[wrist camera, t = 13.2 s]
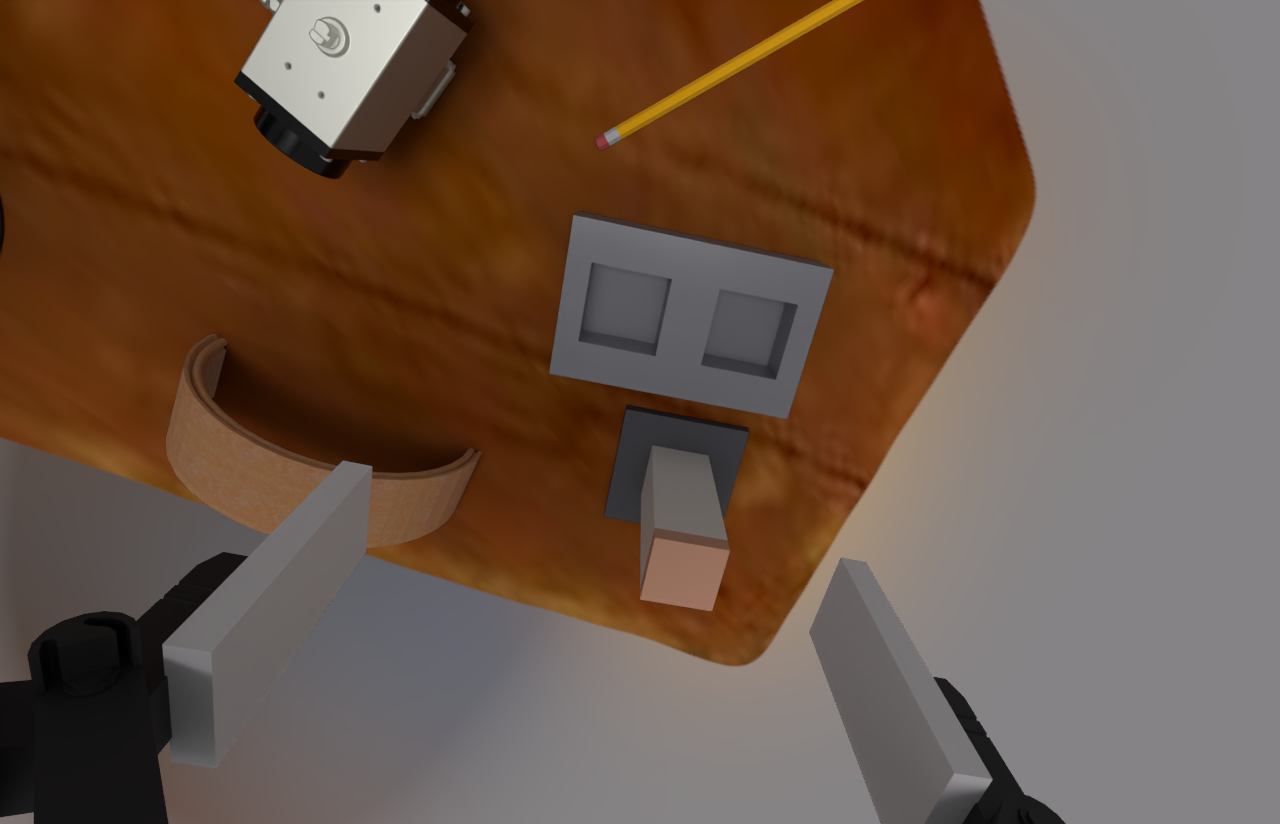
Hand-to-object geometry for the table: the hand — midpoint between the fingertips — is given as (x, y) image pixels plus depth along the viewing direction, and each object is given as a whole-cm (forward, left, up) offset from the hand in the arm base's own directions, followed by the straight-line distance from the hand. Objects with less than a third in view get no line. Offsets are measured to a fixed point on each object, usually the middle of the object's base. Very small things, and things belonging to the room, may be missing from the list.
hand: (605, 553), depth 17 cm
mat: (+6, -10, -27) cm, 29 cm away
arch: (-19, -12, -27) cm, 35 cm away
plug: (+6, -10, -26) cm, 29 cm away
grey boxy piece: (+4, +2, -27) cm, 27 cm away
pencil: (+3, +17, -27) cm, 32 cm away
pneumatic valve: (-15, +13, -27) cm, 34 cm away
